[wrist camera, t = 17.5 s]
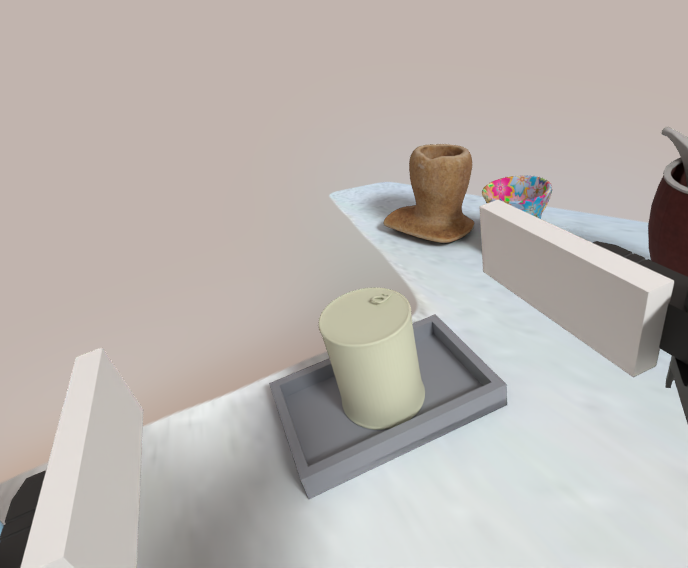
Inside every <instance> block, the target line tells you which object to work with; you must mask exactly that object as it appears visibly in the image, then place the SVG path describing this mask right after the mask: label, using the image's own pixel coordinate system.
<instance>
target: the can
mask: <svg viewBox="0 0 688 568" xmlns="http://www.w3.org/2000/svg"><path fill="white" fill-rule="evenodd" d="M319 330H320V332H321V334H322V337H323V340H324V342H325V346H326V349H327V352H328V355H329V358H330V361H331V365H332V368H333V371H334V374H335V378H336V381H337V384H338V388H339V391H340V394H341V398H342V406H343V409H344V412H345V414H346V415H347V416H348V418H349V419H350V420H351V421H353V422H354V423H355V424H357V425H359V426H361V427H364V428H368V429H373V430H385V429H391V428H393V427H395V426H398V425H400V424H402V423H404V422H406V421H408V420H411V419H412V418H413V417H414V416H415V415H416V414H417V413H418V412H419V410H420V409H421V407H422V405H423V402H424V399H425V388H424V385H423V382H422V379H421V374H420V369H419V363H418V356H417V350H416V344H415V338H414V331H413V325H412V317H411V307H410V304H409V302H408V300H407V299H406V298H405V297H404V296H403V295H401V294H400V293H398V292H396V291H393V290H390V289H386V288H364V289H359V290H355V291H352V292H349V293H346V294H344V295H342V296H340V297H338V298H336V299H335V300H334V301H332V302H331V303H330V304H329V305H328V306H327V307H326V308H325V309H324V311H323V312H322V313H321V315H320V318H319Z"/></svg>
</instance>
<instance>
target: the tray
mask: <svg viewBox="0 0 688 568" xmlns="http://www.w3.org/2000/svg"><path fill="white" fill-rule="evenodd" d="M412 325H413V331H414V338H415V344H416V350H417V356H418V363H419V369H420V374H421V379H422V382H423V385H424V388H425V399H424V402H423V405H422V407H421V409H420V410H419V412H418V413H417V414H416V415H415V416H414V417H413V418H412V419H411V420H408V421H406V422H404V423H402V424H400V425H398V426H395V427H393V428H391V429H385V430H373V429H368V428H364V427H361V426H359V425H357V424H355V423H354V422H353V421H351V420H350V419H349V418H348V416H347V415H346V414H345V412H344V409H343V406H342V398H341V394H340V391H339V388H338V384H337V381H336V378H335V374H334V371H333V368H332V365H331V361H330V358H329V359H327V360H324V361H322V362H320V363H317V364H315V365H312V366H310V367H308V368H305V369H303V370H300V371H298V372H296V373H293V374H291V375H288V376H286V377H284V378H281V379H279V380H276V381H274V382H272V383H269V384H270V387H271V390H272V394H273V397H274V400H275V403H276V406H277V409H278V412H279V415H280V418H281V421H282V424H283V427H284V431H285V434H286V437H287V440H288V443H289V446H290V449H291V452H292V455H293V458H294V461H295V464H296V468H297V471H298V474H299V477H300V480H301V482H302V485H303V487H304V489H305V491H306V494H307V496H308V498H309V499H310V498H312V497H315V496H317V495H319V494H321V493H323V492H325V491H327V490H329V489H331V488H333V487H336V486H338V485H340V484H342V483H344V482H346V481H348V480H350V479H352V478H354V477H357V476H359V475H361V474H363V473H365V472H367V471H369V470H371V469H373V468H375V467H378V466H380V465H382V464H384V463H386V462H388V461H390V460H392V459H394V458H396V457H399V456H401V455H403V454H405V453H407V452H409V451H411V450H413V449H415V448H417V447H420V446H422V445H424V444H426V443H428V442H430V441H432V440H434V439H436V438H438V437H441V436H443V435H445V434H447V433H449V432H451V431H453V430H455V429H457V428H459V427H462V426H464V425H466V424H468V423H470V422H472V421H474V420H476V419H478V418H481V417H483V416H485V415H487V414H489V413H491V412H493V411H495V410H497V409H499V408H502V407H504V406H506V405H507V384H506V383H505V382H504V381H503V380H502V379H501V378H500V377H499V376H498V375H497V374H495V373H494V372H493V371H492V370H491V369H490V368H489V367H488V366H487V365H486V364H485V363H484V362H483V361H482V360H481V359H480V358H479V357H478V356H477V355H476V354H475V353H474V352H473V351H472V350H471V349H470V348H469V347H468V346H467V345H466V344H465V343H464V342H463V341H462V340H461V339H460V338H459V337H458V336H457V335H456V334H455V333H454V332H453V331H452V330H451V329H450V328H449V327H448V326H447V325H446V324H445V323H444V322H443V321H441V320H440V319H439V318H438V317H437V316H436V315H432V316H430V317H428V318H425V319H423V320H420V321H418V322H416V323H413V324H412Z"/></svg>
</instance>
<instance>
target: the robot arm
mask: <svg viewBox="0 0 688 568" xmlns="http://www.w3.org/2000/svg"><path fill="white" fill-rule="evenodd" d="M480 223H481V241H482V259H483V272H484V273H486V274H487V275H489V276H490V277H492V278H493V279H494V280H496V281H497V282H499V283H500V284H502V285H503V286H504V287H506V288H507V289H509V290H510V291H511V292H513V293H514V294H516V295H517V296H519V297H520V298H521V299H523V300H524V301H526V302H527V303H528V304H530V305H531V306H533V307H534V308H536V309H537V310H538V311H540V312H541V313H543V314H544V315H546V316H547V317H548V318H550V319H551V320H553V321H554V322H555V323H557V324H558V325H560V326H561V327H563V328H564V329H565V330H567V331H568V332H570V333H571V334H573V335H574V336H575V337H577V338H578V339H580V340H581V341H582V342H584V343H585V344H587V345H588V346H590V347H591V348H592V349H594V350H595V351H597V352H598V353H599V354H601V355H602V356H604V357H605V358H607V359H608V360H609V361H611V362H612V363H614V364H615V365H617V366H618V367H619V368H621V369H622V370H624V371H625V372H626V373H628V374H629V375H631V376H632V377H635V376H637V375H639V374H641V373H643V372H645V371H647V370H649V369H651V368H653V367H655V366H656V365H657V360H658V355H659V351H660V349H662V350H664V351H665V352H667V353H669V354H670V355H672V357H671V361H670V366H669V370H668V374H667V378H666V388H671V384H672V381H673V380H675V384H676V387H677V390H678V393H679V397H680V400H681V403H682V407H683V410H684V413H685V416H686V420H687V423H688V277H687V276H684V275H682V274H680V273H678V272H675V271H673V270H671V269H669V268H666V267H664V266H662V265H660V264H657V263H655V262H653V261H651V260H645V258H644V257H642V256H639V255H637V254H632V252H630V251H628V250H626V249H623V248H621V247H619V246H617V245H613V244H608V243H603V242H598V241H596V242H593V243H591V242H589V241H587V240H585V239H583V238H581V237H578V236H576V235H574V234H572V233H570V232H568V231H565V230H563V229H561V228H559V227H557V226H555V225H552V224H550V223H548V222H546V221H544V220H542V219H539V218H537V217H535V216H533V215H531V214H529V213H526V212H524V211H522V210H520V209H518V208H515V207H513V206H511V205H509V204H507V203H505V202H502V201H500V200H495V201H493V202H490V203H487V204H484V205H482V206H480ZM142 431H143V408H142V407H141V405H140V404H139V402H138V401H137V399H136V398H135V396H134V394H133V393H132V391H131V390H130V388H129V387H128V385H127V384H126V382H125V381H124V379H123V378H122V376H121V375H120V373H119V372H118V370H117V369H116V367H115V366H114V364H113V362H112V361H111V359H110V358H109V356H108V355H107V353H106V352H105V350H104V349H103V347H102V348H99V349H96V350H94V351H91V352H88V353H85V354H83V355H80V356H77V357H76V359H75V363H74V367H73V371H72V375H71V378H70V383H69V386H68V390H67V394H66V397H65V401H64V405H63V409H62V413H61V416H60V420H59V424H58V428H57V432H56V435H55V439H54V443H53V447H52V450H51V455H50V458H49V462H48V465H47V469H46V471H43V472H41V473H38V474H36V475H33V476H31V477H29V478H26V480H25V481H24V483H23V484H22V486H21V487H20V489H19V490H18V492H17V493H16V495H15V496H14V498H13V499H12V501H11V504H10V507H9V510H8V513H7V516H6V519H5V523H6V525H3V523H2V522H1V521H0V568H137V549H138V525H139V501H140V478H141V454H142Z"/></svg>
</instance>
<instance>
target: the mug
mask: <svg viewBox="0 0 688 568" xmlns="http://www.w3.org/2000/svg"><path fill="white" fill-rule="evenodd" d="M551 193H552V185H551V183H549V182H548V181H547V180H545V179H543V178H540V177H534V176H511V177H506V178H501V179H498V180H495V181H493V182H491V183H489V184H487V185H486V186H485V187H484V188H483V190H482V195H483V197H484V199H485V201H486V203H490V202H493V201H495V200H500V201H502V202H505V203H507V204H509V205H511V206H513V207H515V208H518V209H520V210H522V211H524V212H526V213H529V214H531V215H533V216H535V217H537V218H539V219H541V215H542V212H543V211H544V209H545V207H546V206H547V203H548V201H549V199H550V196H551Z"/></svg>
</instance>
